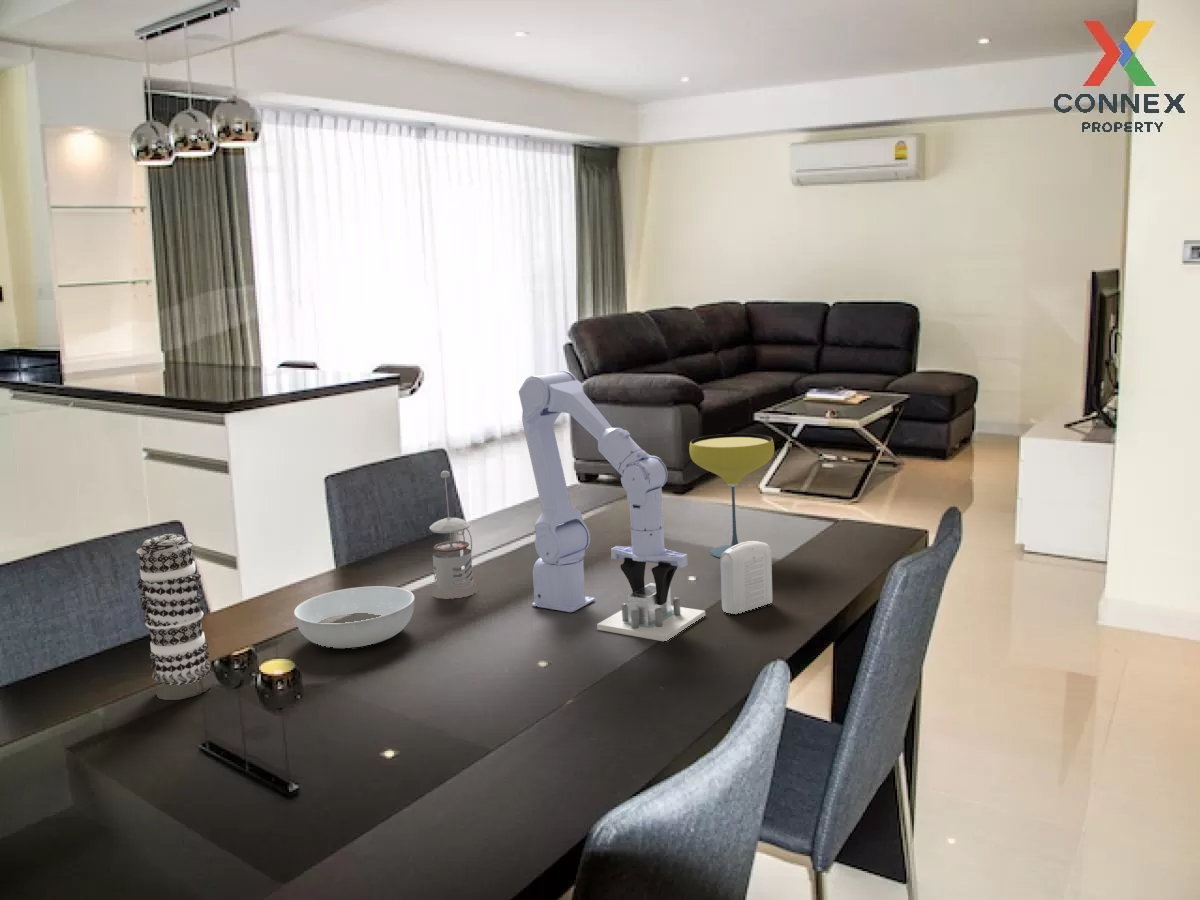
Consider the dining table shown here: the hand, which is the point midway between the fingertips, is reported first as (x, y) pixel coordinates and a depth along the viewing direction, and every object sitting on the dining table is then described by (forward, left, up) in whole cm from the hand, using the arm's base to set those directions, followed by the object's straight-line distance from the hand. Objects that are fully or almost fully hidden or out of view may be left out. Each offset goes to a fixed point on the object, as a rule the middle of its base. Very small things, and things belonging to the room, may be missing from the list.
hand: (650, 601), depth 173 cm
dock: (0, 0, -4) cm, 4 cm away
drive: (0, 0, -3) cm, 3 cm away
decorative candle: (-52, -58, -4) cm, 78 cm away
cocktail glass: (-6, +46, -4) cm, 47 cm away
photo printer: (+12, +14, -4) cm, 19 cm away
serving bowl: (-44, -29, -4) cm, 53 cm away
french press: (-46, 0, -4) cm, 46 cm away
